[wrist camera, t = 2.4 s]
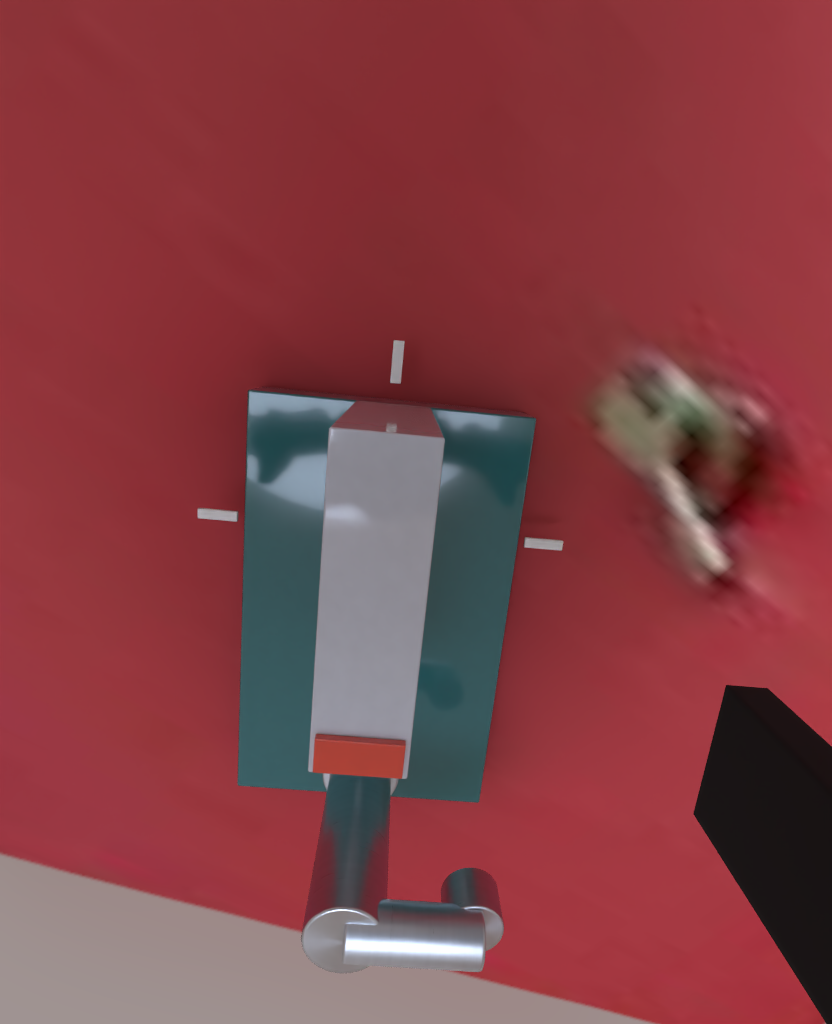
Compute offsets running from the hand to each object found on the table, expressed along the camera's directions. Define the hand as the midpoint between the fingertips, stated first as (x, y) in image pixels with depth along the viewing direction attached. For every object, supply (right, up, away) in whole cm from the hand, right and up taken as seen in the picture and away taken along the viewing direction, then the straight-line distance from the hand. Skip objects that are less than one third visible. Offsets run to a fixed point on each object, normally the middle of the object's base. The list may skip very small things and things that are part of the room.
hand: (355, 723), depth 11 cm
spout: (0, -7, +14) cm, 15 cm away
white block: (0, +3, +11) cm, 12 cm away
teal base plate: (0, +1, +14) cm, 14 cm away
